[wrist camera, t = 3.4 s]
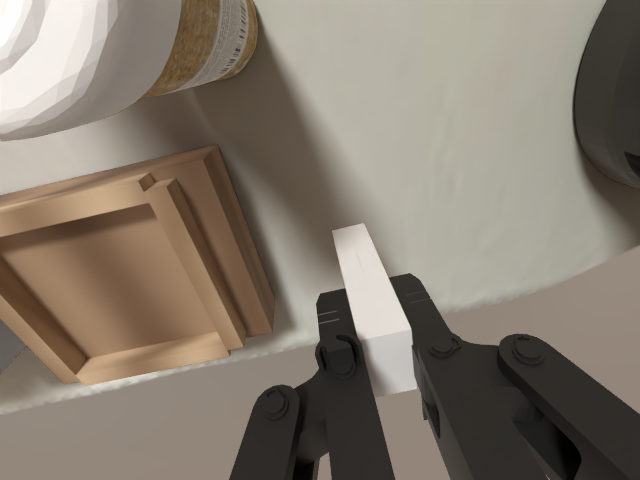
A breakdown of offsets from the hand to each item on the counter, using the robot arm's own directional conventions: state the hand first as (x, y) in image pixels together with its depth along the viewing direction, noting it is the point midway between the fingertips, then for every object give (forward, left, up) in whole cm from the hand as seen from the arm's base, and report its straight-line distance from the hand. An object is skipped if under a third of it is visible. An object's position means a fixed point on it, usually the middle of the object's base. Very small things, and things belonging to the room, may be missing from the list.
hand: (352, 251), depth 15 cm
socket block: (+12, 0, -5) cm, 13 cm away
